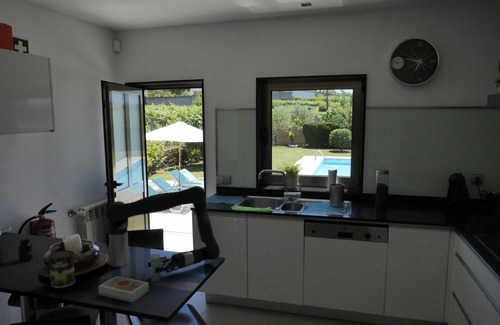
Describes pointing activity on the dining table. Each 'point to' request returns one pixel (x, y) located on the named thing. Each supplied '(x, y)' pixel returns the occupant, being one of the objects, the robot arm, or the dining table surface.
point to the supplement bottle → (25, 250)
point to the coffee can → (62, 269)
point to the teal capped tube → (155, 264)
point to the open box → (123, 288)
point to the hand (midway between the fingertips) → (151, 267)
